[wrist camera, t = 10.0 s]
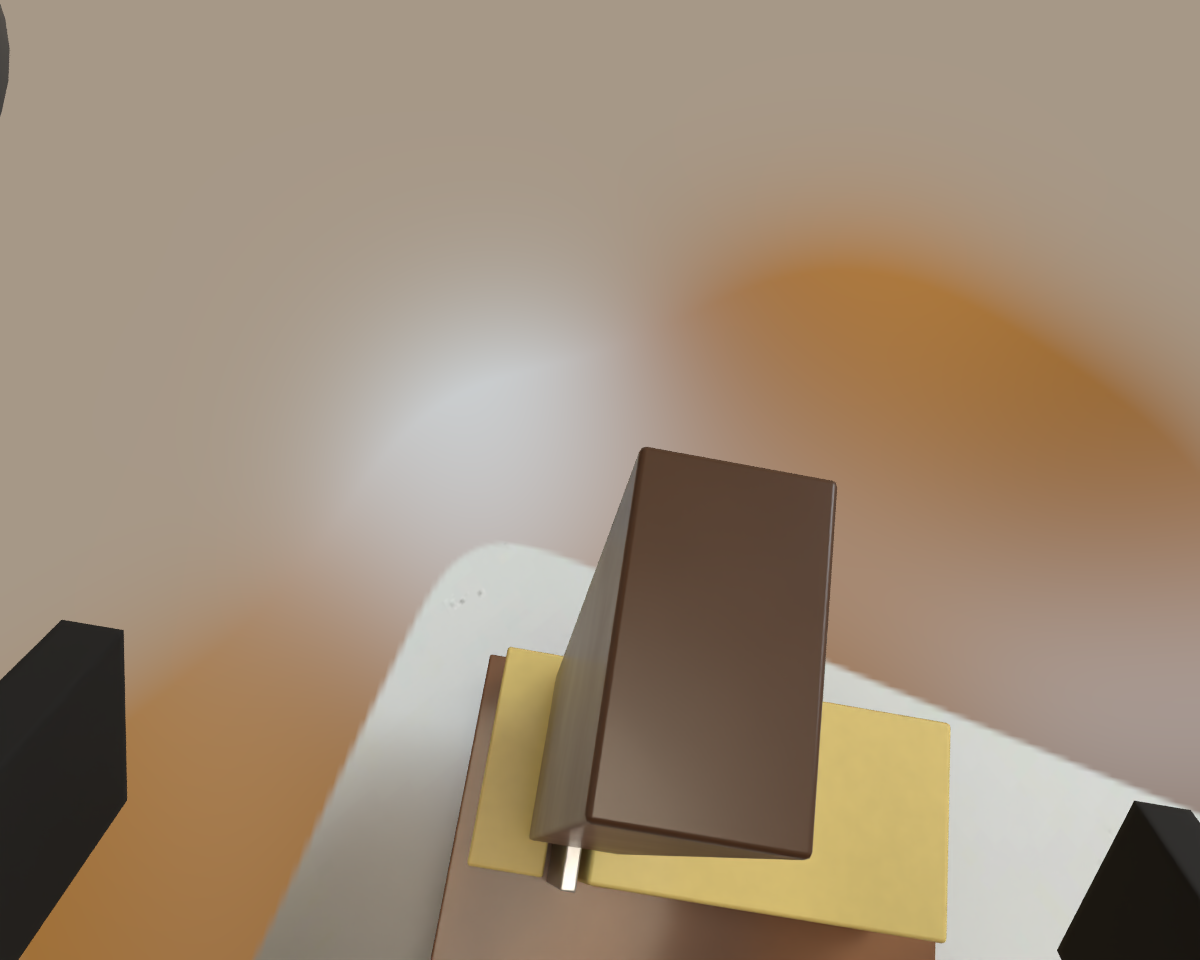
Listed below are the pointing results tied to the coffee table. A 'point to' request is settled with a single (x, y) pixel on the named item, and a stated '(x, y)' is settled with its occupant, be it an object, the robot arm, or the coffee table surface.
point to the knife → (694, 672)
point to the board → (613, 908)
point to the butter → (767, 886)
